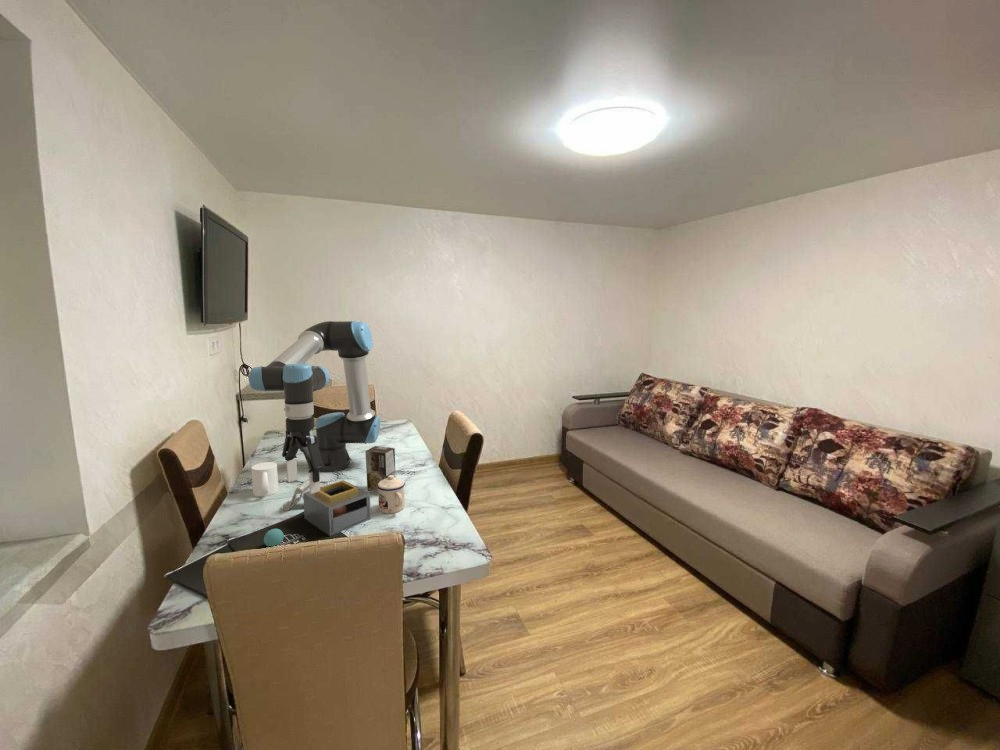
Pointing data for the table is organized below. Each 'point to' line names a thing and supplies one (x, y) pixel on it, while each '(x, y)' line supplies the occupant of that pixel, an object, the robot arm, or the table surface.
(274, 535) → the ball teal
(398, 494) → the teacup with lid
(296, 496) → the portable electronic device stand
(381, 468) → the coffee box
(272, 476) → the mug
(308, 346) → the robot arm
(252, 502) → the table surface
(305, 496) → the grey slotted box
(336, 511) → the ball terracotta
